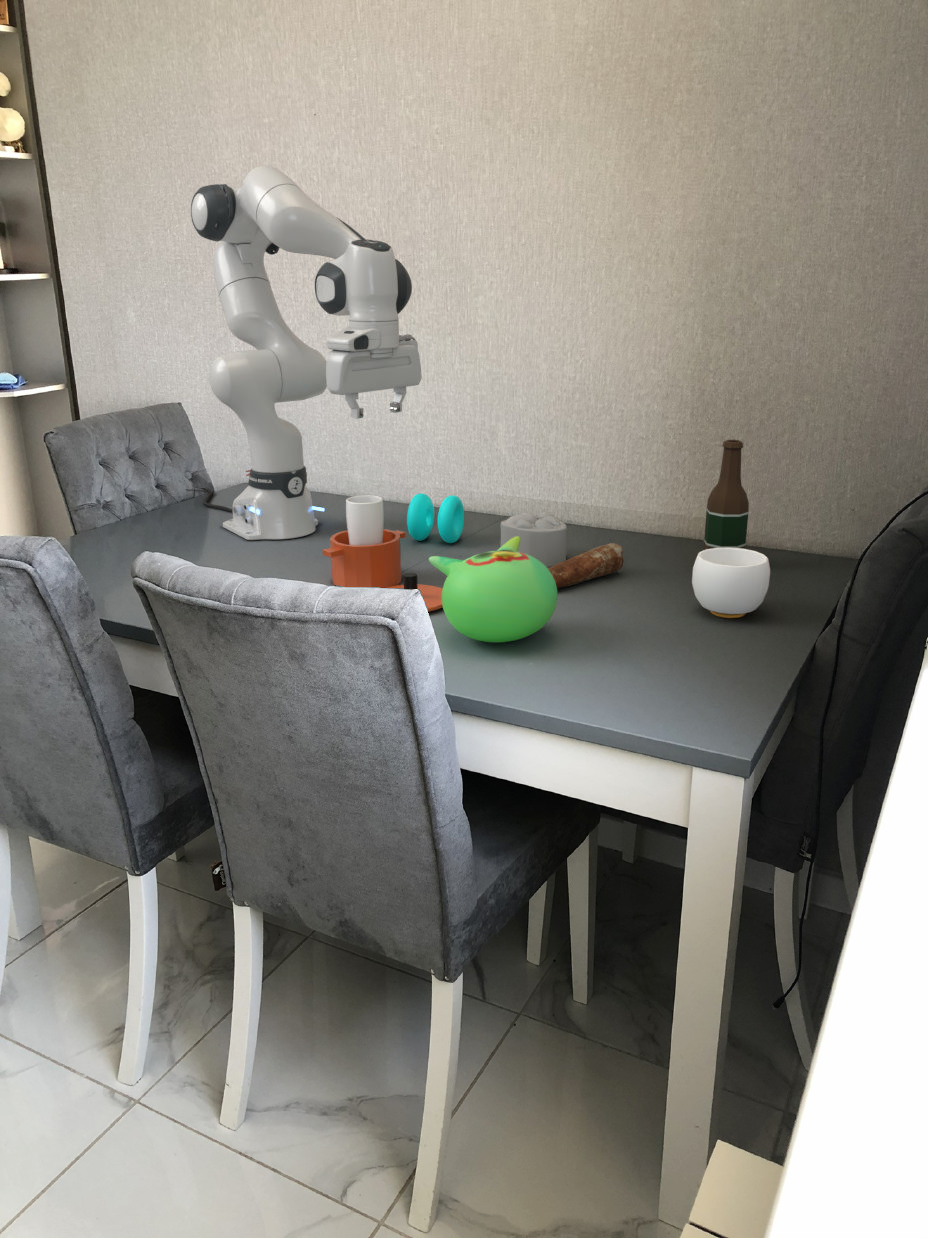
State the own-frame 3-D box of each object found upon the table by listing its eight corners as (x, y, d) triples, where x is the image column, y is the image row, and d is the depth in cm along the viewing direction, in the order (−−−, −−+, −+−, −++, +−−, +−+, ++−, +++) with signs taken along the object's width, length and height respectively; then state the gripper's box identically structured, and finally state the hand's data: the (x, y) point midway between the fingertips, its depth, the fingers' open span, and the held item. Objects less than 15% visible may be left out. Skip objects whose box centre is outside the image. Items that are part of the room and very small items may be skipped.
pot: (307, 585, 177) (304, 540, 175) (381, 564, 190) (379, 522, 187) (352, 600, 169) (349, 553, 166) (425, 577, 181) (424, 533, 178)
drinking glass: (379, 585, 176) (377, 504, 170) (344, 582, 177) (340, 502, 172) (389, 574, 182) (387, 495, 177) (355, 572, 183) (352, 494, 178)
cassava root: (626, 574, 181) (627, 545, 179) (552, 595, 170) (552, 565, 168) (601, 566, 186) (603, 538, 184) (528, 587, 175) (528, 557, 173)
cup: (753, 630, 153) (759, 572, 150) (679, 617, 159) (683, 560, 156) (775, 607, 163) (780, 552, 160) (704, 596, 169) (708, 542, 166)
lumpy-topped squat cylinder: (525, 547, 200) (525, 506, 197) (577, 558, 192) (579, 515, 189) (493, 558, 192) (493, 516, 189) (547, 570, 184) (548, 526, 181)
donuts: (450, 549, 199) (450, 501, 195) (405, 545, 202) (404, 498, 199) (466, 536, 208) (465, 491, 204) (422, 533, 211) (421, 488, 207)
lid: (354, 604, 167) (353, 575, 166) (412, 585, 177) (411, 558, 175) (409, 622, 158) (408, 592, 157) (467, 602, 168) (467, 573, 166)
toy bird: (467, 665, 141) (466, 569, 136) (425, 628, 156) (422, 540, 151) (574, 645, 148) (577, 553, 143) (524, 612, 163) (525, 527, 157)
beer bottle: (746, 562, 188) (758, 438, 179) (739, 573, 181) (751, 445, 173) (706, 558, 191) (716, 436, 182) (698, 569, 184) (707, 442, 176)
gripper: (405, 332, 182) (406, 407, 187) (318, 339, 168) (323, 419, 173) (428, 334, 178) (429, 410, 183) (341, 341, 164) (345, 423, 169)
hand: (377, 415), depth 178 cm, fingers open, 8 cm apart
